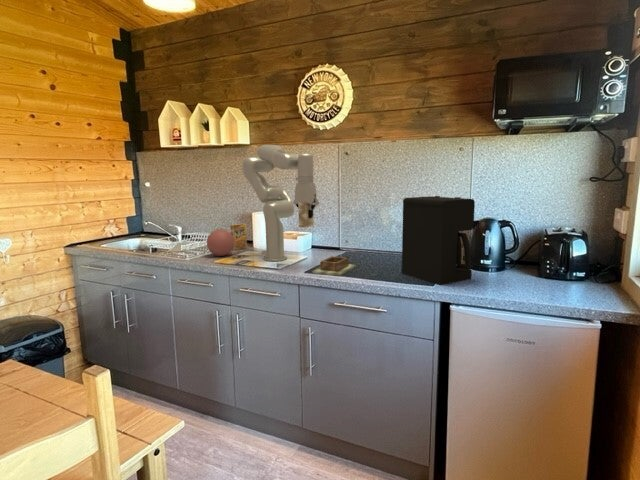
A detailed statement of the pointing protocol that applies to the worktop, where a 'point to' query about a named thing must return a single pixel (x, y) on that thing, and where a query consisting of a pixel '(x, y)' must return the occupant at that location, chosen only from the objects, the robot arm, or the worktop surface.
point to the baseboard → (177, 248)
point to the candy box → (239, 235)
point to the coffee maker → (437, 238)
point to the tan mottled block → (305, 215)
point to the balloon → (220, 242)
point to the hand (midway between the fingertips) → (306, 217)
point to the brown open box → (334, 266)
